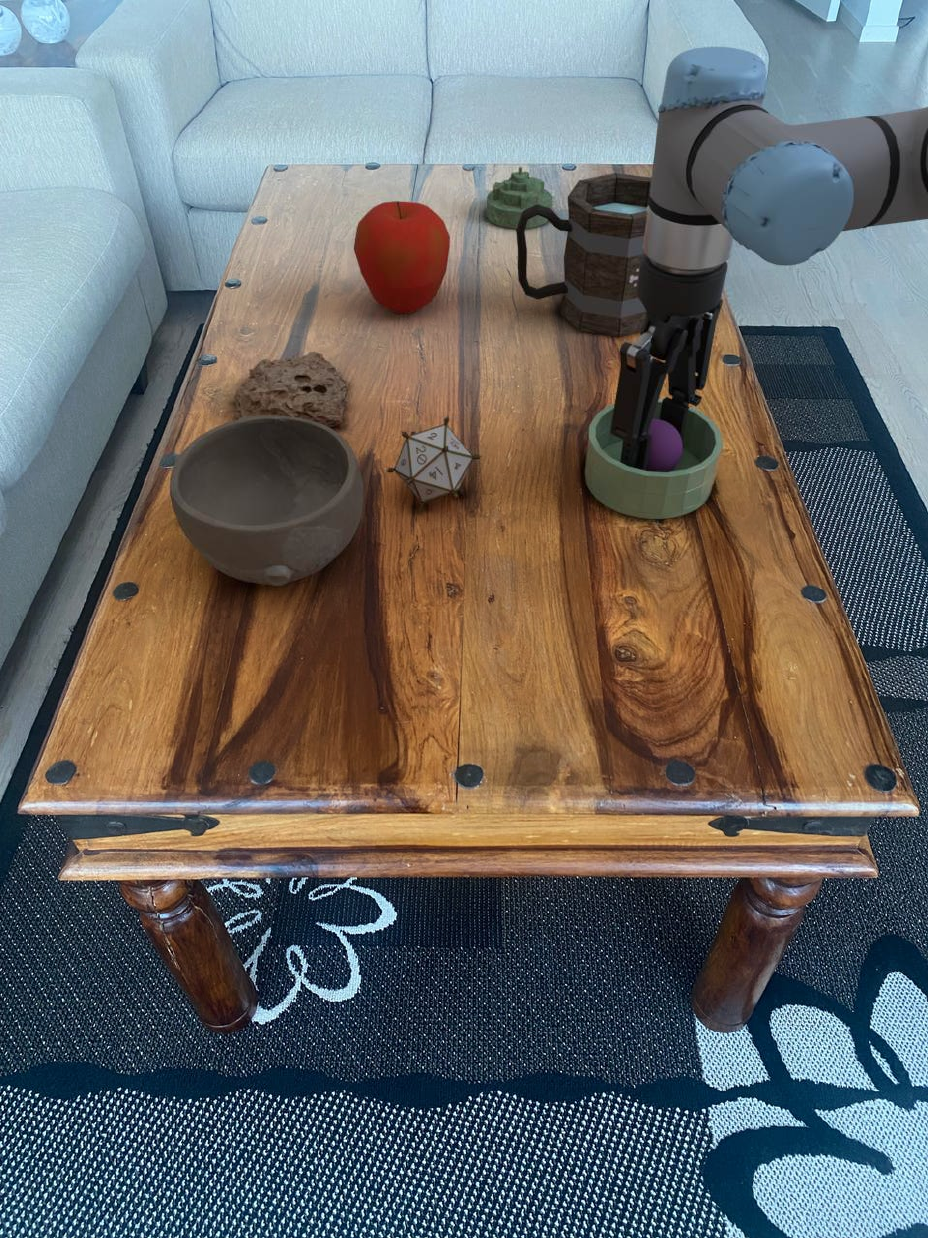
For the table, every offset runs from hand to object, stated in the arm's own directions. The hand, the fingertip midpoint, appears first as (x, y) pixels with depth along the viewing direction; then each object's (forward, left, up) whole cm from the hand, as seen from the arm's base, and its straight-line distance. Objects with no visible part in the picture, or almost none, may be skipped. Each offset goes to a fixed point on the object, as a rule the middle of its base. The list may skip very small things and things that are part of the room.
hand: (648, 469), depth 97 cm
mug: (+26, -24, -1) cm, 35 cm away
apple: (+45, -9, -1) cm, 46 cm away
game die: (+15, +17, -1) cm, 23 cm away
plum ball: (0, 0, +3) cm, 3 cm away
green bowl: (0, 0, -1) cm, 1 cm away
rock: (+40, +15, -1) cm, 43 cm away
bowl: (+21, +33, -1) cm, 39 cm away
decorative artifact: (+52, -41, -1) cm, 66 cm away
